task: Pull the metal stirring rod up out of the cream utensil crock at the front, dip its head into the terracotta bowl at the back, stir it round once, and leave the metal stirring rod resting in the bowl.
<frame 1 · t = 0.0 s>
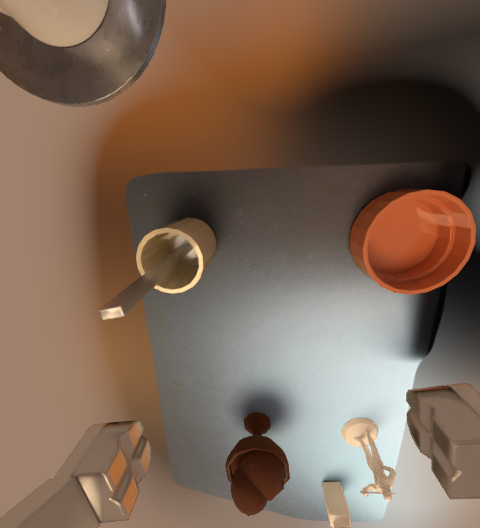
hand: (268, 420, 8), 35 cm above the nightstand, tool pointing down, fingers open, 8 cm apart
metal stirring rod: (189, 244, 41), point 1 cm above the nightstand, touching crock
salt shaker: (331, 485, 57), on the nightstand
bowl: (395, 236, 40), on the nightstand
figurine: (359, 431, 52), on the nightstand
crock: (191, 243, 42), on the nightstand
ice cream bowl: (257, 422, 53), on the nightstand
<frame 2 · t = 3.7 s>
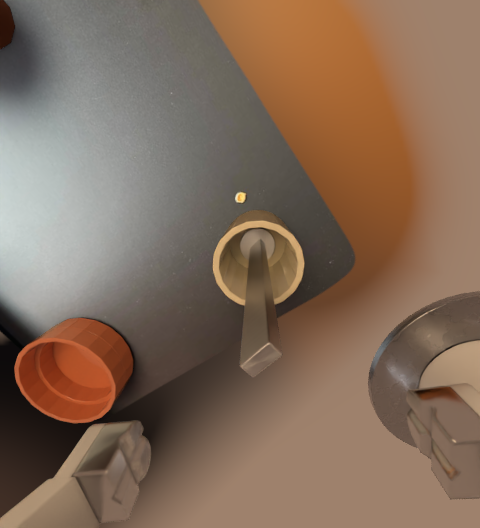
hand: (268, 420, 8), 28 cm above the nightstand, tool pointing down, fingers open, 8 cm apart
metal stirring rod: (257, 243, 33), point 1 cm above the nightstand, touching crock
bowl: (91, 355, 41), on the nightstand
crock: (257, 241, 34), on the nightstand
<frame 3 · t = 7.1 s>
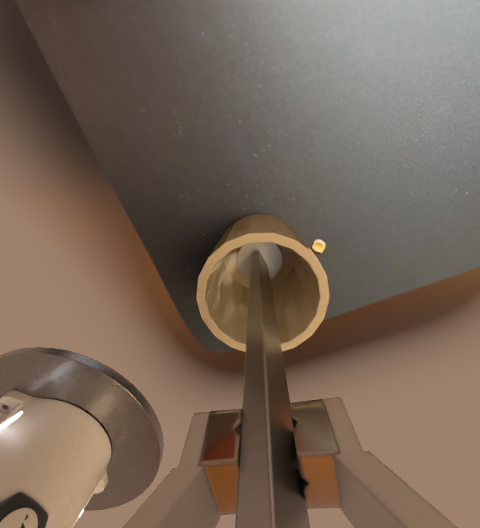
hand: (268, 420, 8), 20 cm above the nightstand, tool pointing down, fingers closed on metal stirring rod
metal stirring rod: (259, 256, 26), point 1 cm above the nightstand, touching gripper
crock: (259, 254, 27), on the nightstand
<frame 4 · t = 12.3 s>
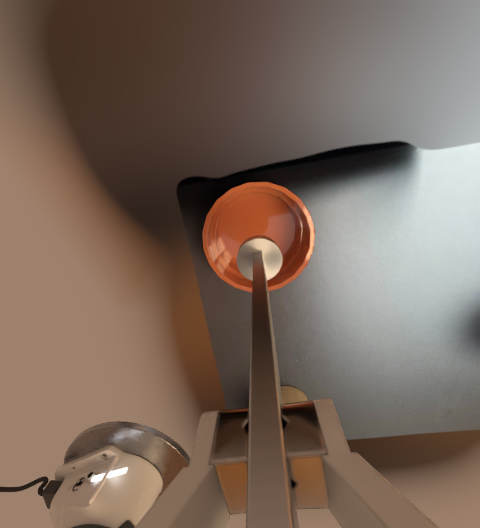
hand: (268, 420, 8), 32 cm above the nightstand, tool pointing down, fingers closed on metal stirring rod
metal stirring rod: (259, 256, 26), point 13 cm above the nightstand, touching gripper
bowl: (257, 232, 38), on the nightstand
crock: (285, 404, 47), on the nightstand
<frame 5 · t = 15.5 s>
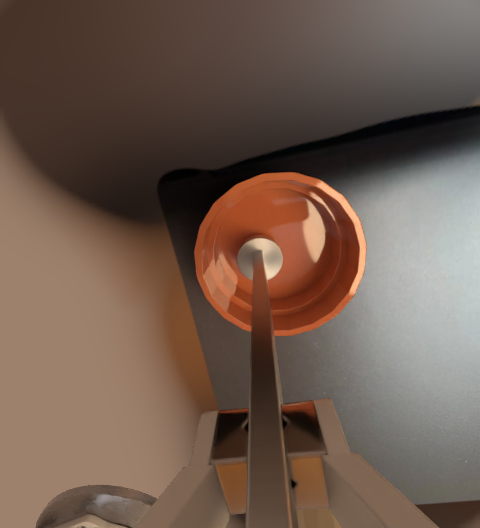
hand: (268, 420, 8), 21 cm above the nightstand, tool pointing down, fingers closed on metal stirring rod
metal stirring rod: (259, 256, 26), point 1 cm above the nightstand, touching gripper
bowl: (273, 245, 27), on the nightstand
crock: (312, 465, 36), on the nightstand
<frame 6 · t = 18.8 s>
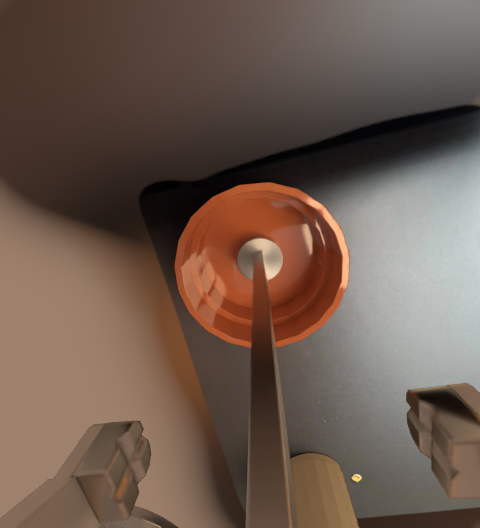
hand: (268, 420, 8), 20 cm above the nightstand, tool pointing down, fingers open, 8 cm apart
metal stirring rod: (259, 256, 26), point 1 cm above the nightstand, touching bowl
bowl: (259, 255, 27), on the nightstand
crock: (311, 475, 35), on the nightstand
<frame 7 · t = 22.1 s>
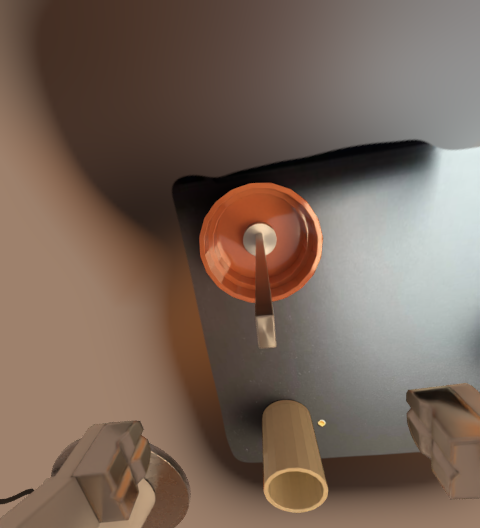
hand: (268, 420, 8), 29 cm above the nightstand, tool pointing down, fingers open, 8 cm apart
metal stirring rod: (259, 237, 35), point 1 cm above the nightstand, touching bowl
bowl: (259, 237, 35), on the nightstand
crock: (286, 419, 44), on the nightstand
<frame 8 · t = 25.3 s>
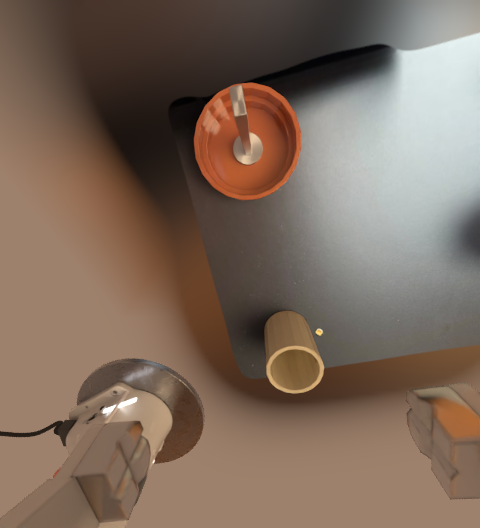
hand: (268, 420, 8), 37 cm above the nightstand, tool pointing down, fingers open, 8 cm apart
metal stirring rod: (248, 150, 39), point 1 cm above the nightstand, touching bowl
bowl: (248, 150, 40), on the nightstand
crock: (286, 330, 49), on the nightstand
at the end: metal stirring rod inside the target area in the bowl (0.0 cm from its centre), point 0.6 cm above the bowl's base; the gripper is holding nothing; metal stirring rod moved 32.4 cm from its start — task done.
